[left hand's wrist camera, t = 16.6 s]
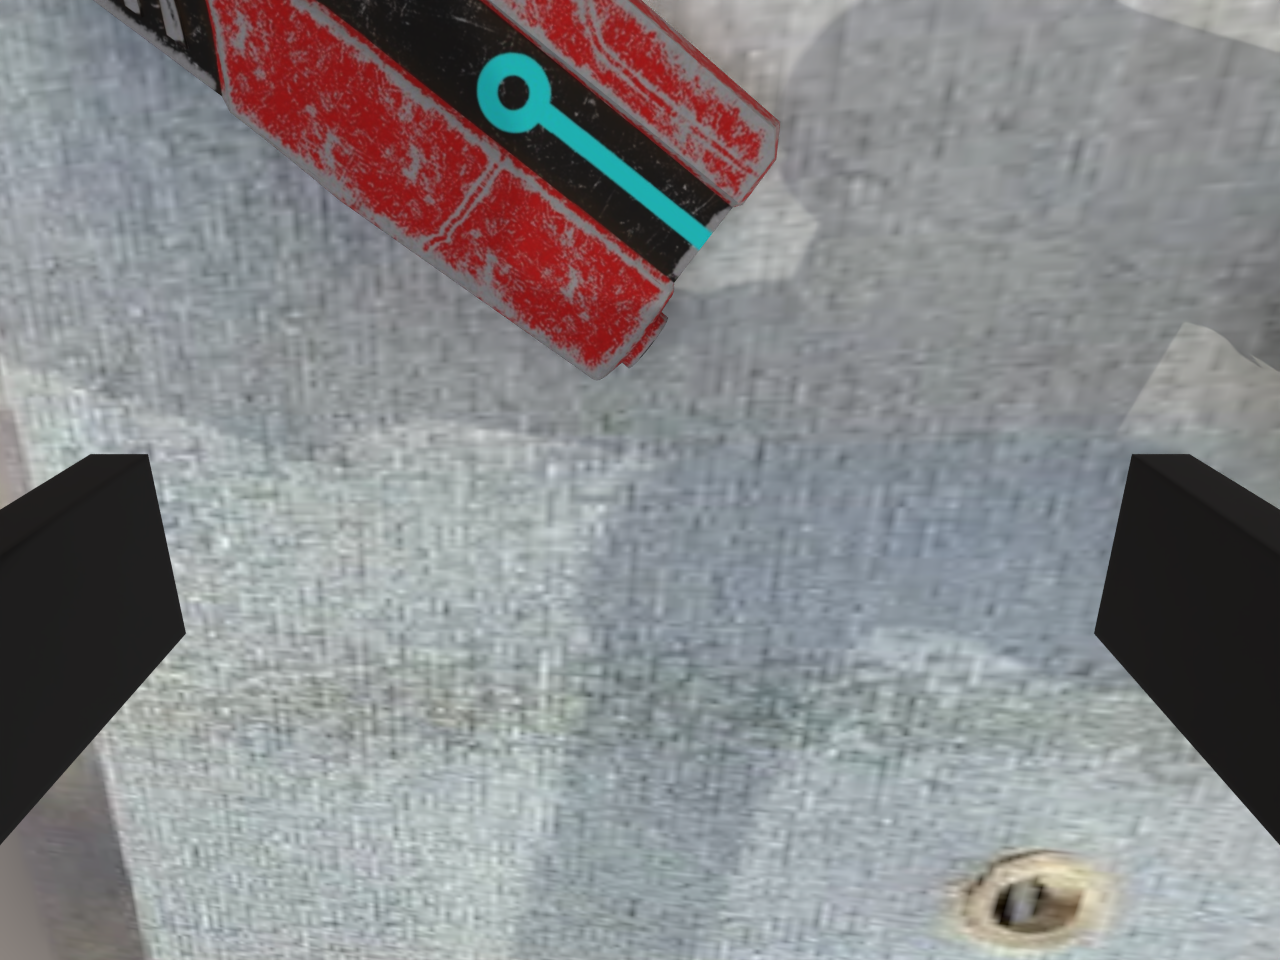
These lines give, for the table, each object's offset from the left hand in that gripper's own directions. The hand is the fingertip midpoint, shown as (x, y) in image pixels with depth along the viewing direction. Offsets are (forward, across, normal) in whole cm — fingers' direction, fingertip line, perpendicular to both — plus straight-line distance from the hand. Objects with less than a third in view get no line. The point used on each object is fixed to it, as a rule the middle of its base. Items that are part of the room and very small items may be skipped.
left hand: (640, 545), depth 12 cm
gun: (+31, -8, +10) cm, 34 cm away
